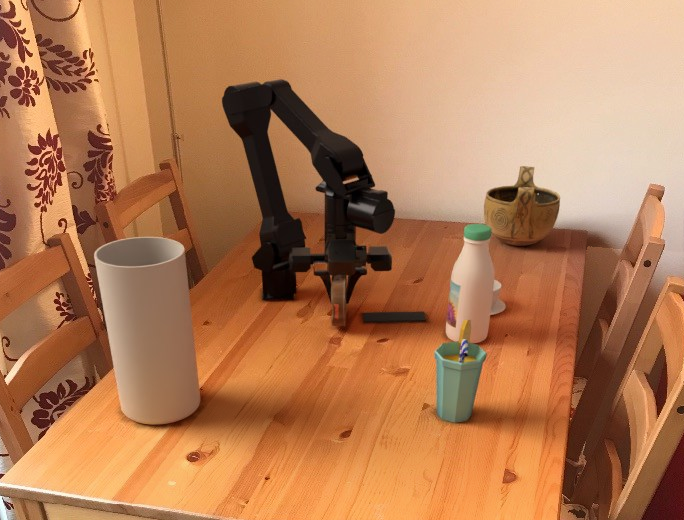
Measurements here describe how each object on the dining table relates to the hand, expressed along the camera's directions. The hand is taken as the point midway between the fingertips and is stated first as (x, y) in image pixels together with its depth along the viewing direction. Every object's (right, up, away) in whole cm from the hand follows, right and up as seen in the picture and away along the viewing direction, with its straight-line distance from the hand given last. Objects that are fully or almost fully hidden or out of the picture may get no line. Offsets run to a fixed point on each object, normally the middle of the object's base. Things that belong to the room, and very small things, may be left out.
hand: (339, 303), depth 151 cm
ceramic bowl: (+43, +23, +37) cm, 61 cm away
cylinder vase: (-29, -23, -25) cm, 44 cm away
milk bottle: (+23, -7, -4) cm, 25 cm away
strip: (+11, -2, +2) cm, 11 cm away
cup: (+17, -25, -28) cm, 41 cm away
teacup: (+28, +1, +6) cm, 29 cm away
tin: (0, -2, +1) cm, 3 cm away
